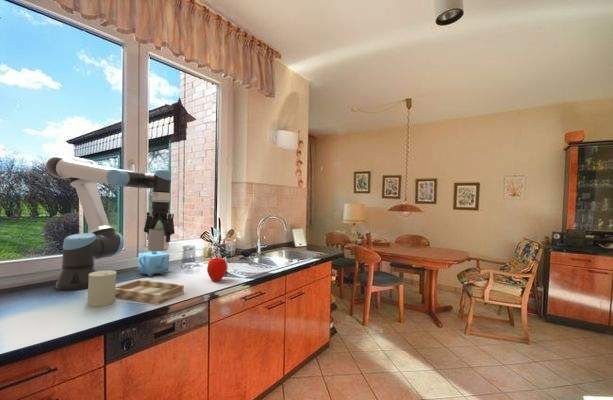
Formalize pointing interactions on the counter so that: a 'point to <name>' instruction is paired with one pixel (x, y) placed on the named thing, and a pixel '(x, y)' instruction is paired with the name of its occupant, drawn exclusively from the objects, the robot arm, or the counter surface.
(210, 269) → the apple
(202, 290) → the counter surface
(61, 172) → the robot arm
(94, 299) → the can
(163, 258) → the teapot
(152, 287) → the box
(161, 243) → the cup
